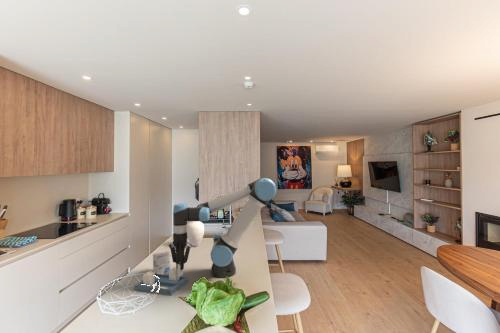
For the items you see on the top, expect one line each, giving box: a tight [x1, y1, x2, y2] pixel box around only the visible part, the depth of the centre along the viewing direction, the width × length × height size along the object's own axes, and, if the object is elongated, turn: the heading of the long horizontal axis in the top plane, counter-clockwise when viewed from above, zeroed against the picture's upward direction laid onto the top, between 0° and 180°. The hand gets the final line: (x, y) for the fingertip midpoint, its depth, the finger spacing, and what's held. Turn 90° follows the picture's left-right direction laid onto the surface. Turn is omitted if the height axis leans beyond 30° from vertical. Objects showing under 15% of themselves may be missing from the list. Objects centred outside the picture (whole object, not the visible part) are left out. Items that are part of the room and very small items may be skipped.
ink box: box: [152, 250, 171, 274], centre depth 150 cm, size 9×5×12 cm, turn 141°
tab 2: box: [168, 266, 179, 281], centre depth 135 cm, size 4×4×7 cm
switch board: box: [133, 272, 189, 296], centre depth 133 cm, size 22×16×3 cm
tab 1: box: [142, 270, 155, 285], centre depth 130 cm, size 4×4×7 cm
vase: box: [187, 221, 205, 247], centre depth 202 cm, size 14×14×28 cm
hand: (179, 275), depth 134 cm, fingers closed
